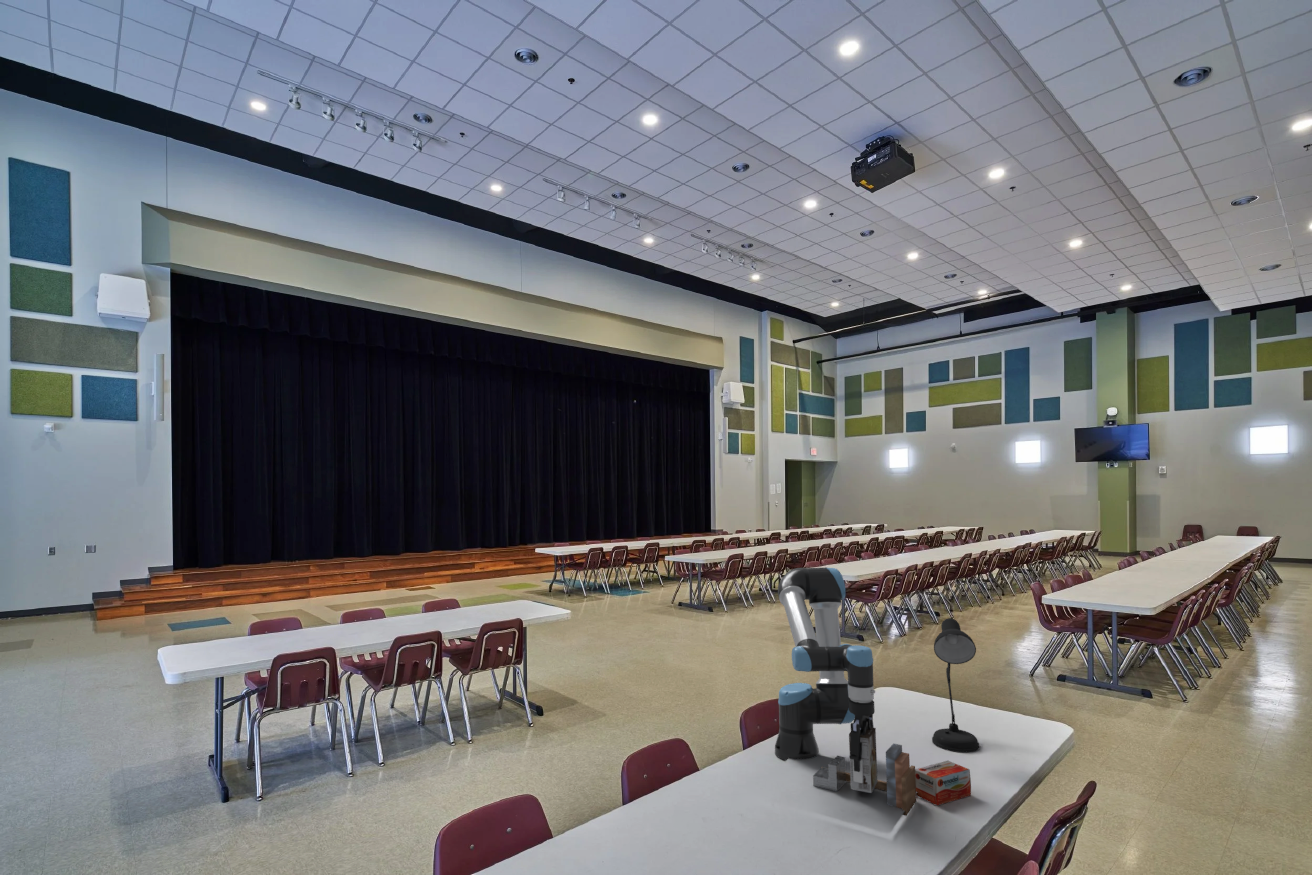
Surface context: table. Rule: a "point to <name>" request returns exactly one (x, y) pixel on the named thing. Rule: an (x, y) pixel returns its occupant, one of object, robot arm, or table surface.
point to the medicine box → (943, 782)
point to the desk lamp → (952, 650)
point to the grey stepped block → (831, 775)
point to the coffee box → (866, 762)
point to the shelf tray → (905, 789)
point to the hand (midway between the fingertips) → (863, 775)
